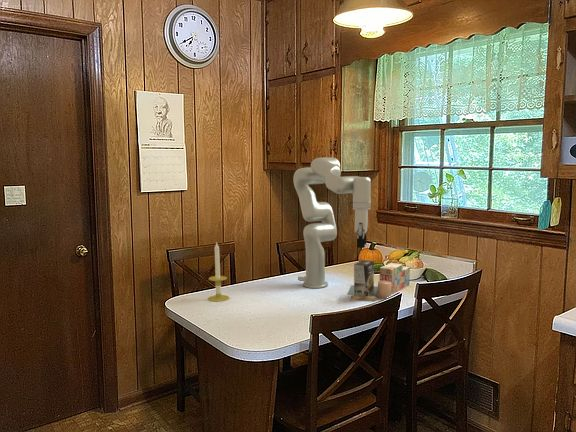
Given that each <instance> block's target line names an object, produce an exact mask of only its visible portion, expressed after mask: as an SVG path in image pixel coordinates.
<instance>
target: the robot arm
mask: <svg viewBox="0 0 576 432" xmlns="http://www.w3.org/2000/svg"><path fill="white" fill-rule="evenodd" d="M341 172H342V170H341V164H340V160H338V159H337V158H335V157H332V156H331V157H329V156H328V157H317V158H314V159H313V160H312V161H311V162H310V167H302V168H298V169H297V170H295V172H294V174H293V186H294V189H295V191H296V194H297V196H298V199H299V204H300V210H301V214H302V218H303V220H305V221H306V222H309V223H310V222H311V223H310V224H307V225H306V226H304V228H303V234H302V235H303V240H304V247H305V275H304V276H297V281H299V282H303V283H302V286H303V287H305V288H309V289H324V288H327V287H328V285H329V283H328V281H326V279H325V278H326V274H325V273H326V271H325V266H326V263H325V260H326V259H325V256H326V255H325V249H324V247H323V245H322V243H323V242H332V241H334V240H335V239H336V238H337V235H338V228H337V224H336V220H335V215H334V211H333V208H332V206H331V205H330V203H328V202H327V201H318V200H317V196H316V193H315V191H314V189H312V187H311V186H310V185H320V184H321V185H323V184H325V186H326V188H327V189H328V190H330V191H332V192H333V193H335V194H337V195H338V194H339V195H344V194H352V210H354V230H353V231H354V233H357V235H356V237H357V238H356V247H357V248H359V249H365V247H366V246H365V245H367V243H368V242H367V241H368V240H367V230H368V225H369V210H371V209H372V207H371V206H372V205H371V203H372V202H371V201H372V199H371V197H372V194H371V193H372V192H371V191H372V189H371V187H372V185H371V183H372V181H371V178H370V177H368V176H358V175H352V176H351V175H350V176H348V175H347V176H346V175H345V176H341V174H342V173H341ZM319 221H320V222H319ZM312 222H316V223H312Z"/></svg>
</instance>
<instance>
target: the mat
mask: <svg viewBox="0 0 576 432" xmlns="http://www.w3.org/2000/svg"><path fill="white" fill-rule="evenodd" d="M377 291H378V285H374V294H373V295H372V296H371V297H377ZM347 295H350V296H354V284H353V285H350V287H349V289H348V292H347Z"/></svg>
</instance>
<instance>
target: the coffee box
mask: <svg viewBox="0 0 576 432" xmlns="http://www.w3.org/2000/svg"><path fill="white" fill-rule="evenodd" d="M353 285H354V295H353V296H367V297H373V296H372V295H373V294H374V286H375V261H373V260H367V259H366V260H365V259H364V260H363V259H360V260H359V261H358V262H356V263H354V265H353Z"/></svg>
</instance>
